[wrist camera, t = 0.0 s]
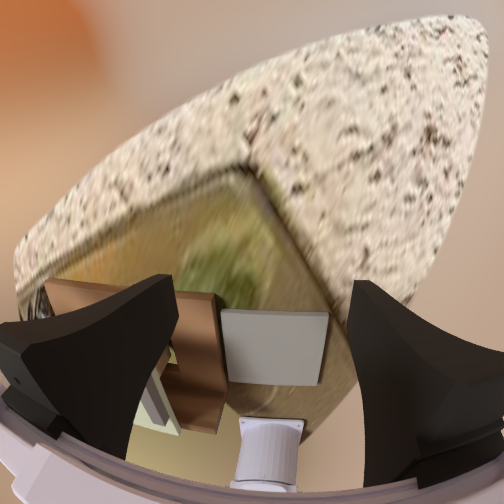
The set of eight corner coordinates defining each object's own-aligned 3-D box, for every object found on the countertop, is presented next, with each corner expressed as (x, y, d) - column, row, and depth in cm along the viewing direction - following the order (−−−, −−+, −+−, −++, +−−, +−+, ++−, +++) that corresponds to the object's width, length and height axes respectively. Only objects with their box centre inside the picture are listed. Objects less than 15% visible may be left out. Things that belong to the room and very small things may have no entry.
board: (227, 390, 28) (216, 434, 22) (83, 359, 30) (61, 388, 25) (214, 293, 23) (192, 340, 17) (49, 277, 25) (16, 303, 20)
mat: (316, 381, 25) (316, 385, 25) (230, 377, 27) (229, 381, 26) (328, 311, 22) (328, 316, 21) (222, 308, 23) (220, 312, 23)
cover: (181, 429, 22) (175, 445, 20) (108, 409, 23) (101, 421, 21) (147, 344, 18) (135, 363, 16) (63, 325, 19) (50, 338, 17)
